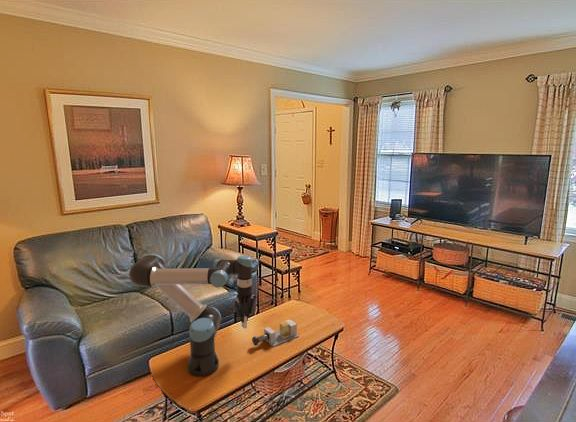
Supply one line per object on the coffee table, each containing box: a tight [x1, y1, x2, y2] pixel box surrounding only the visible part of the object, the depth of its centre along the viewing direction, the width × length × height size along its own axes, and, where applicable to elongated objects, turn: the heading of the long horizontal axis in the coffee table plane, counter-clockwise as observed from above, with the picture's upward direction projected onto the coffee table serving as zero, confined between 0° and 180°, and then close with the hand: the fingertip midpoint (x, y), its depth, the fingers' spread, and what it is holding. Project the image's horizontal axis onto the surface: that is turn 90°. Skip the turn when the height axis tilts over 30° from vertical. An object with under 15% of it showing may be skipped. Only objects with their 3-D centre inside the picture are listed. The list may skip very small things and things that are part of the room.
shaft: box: [251, 333, 269, 347], centre depth 189 cm, size 12×5×5 cm, turn 126°
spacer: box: [279, 320, 290, 337], centre depth 198 cm, size 4×4×7 cm
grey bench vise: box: [263, 319, 299, 348], centre depth 196 cm, size 18×11×7 cm, turn 126°
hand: (244, 327), depth 181 cm, fingers closed
